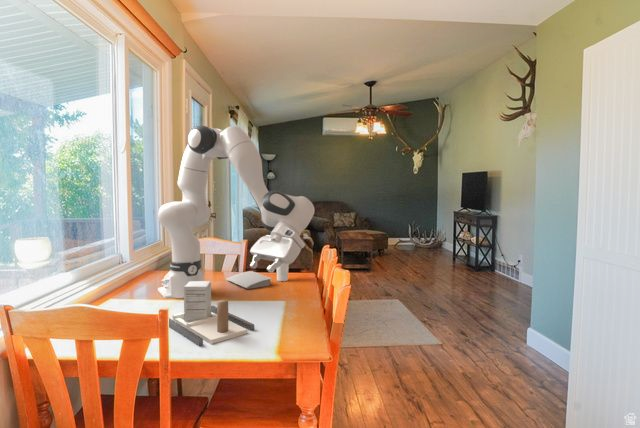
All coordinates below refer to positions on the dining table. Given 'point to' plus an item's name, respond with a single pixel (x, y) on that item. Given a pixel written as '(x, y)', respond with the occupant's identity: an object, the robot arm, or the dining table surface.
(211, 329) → the board with brown peg
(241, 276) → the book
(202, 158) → the robot arm
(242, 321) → the dark grey parallel rails
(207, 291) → the supplement box
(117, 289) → the dining table surface
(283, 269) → the white piece
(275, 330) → the dining table surface
